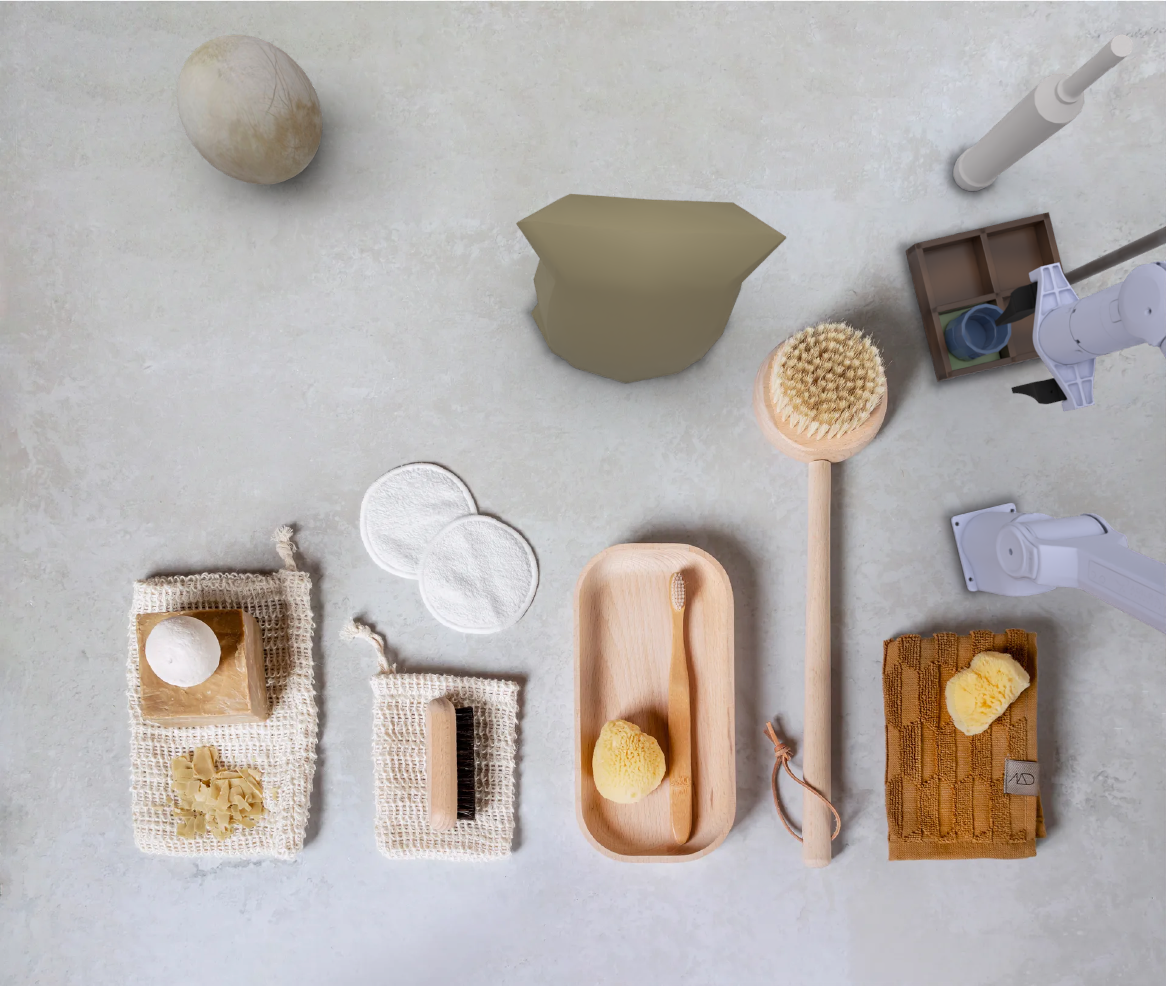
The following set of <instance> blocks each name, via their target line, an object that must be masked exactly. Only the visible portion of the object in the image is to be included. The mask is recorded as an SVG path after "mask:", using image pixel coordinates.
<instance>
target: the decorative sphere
mask: <svg viewBox="0 0 1166 986" xmlns="http://www.w3.org/2000/svg"><path fill="white" fill-rule="evenodd" d="M176 106H177V112H178V113H177V114H178V117H179V120H180V122H181V125H182V127H183V130H184V132H185V135H186V136H187V138H188V139H189V141H190V142H191V144H192V146H193V147H194V149H196V151H197V152H198V153H199V154H200V155H201V157H202V158H203V159H205V161H207V163H209V165H211V166H212V167H214V168H215V169H217V170H218V171H220V172H221V173H223V174H224V175H226V176H228V177H230V178H232V179H234V180H237V181H240V182H244V183H247V184H251V185H253V184H254V185H274V184H279V183H282V182H285V181H288V180H290V179H292V178H294V177H296V176H297V175H299V174H301V172H303V171H304V170H305V169H306V168H307V167H308V166H309V165H310V163H311V162H312V161H313V160H314V158H315V156H316V154H317V152H318V150H319V148H320V147H319V146H320V144H321V141H322V135H323V113H322V107H321V104H320V100H319V96H318V94H317V91H316V89H315V87H314V85H313V83H312V81H311V80H310V78H309V77H308V75H307V74H306V72H305V71H304V69H303V68H302V66H300V65H299V64H298V63H297V62H296V61H295V60H294V59H293V58H292V57H291V56H290V55H289V54H288V53H287V52H286V51H284V50H282V48H279V47H278V46H276V45H274V44H273V43H270V42H268V41H266V40H264V39H263V38H258V37H256V36H251V35H246V34H225V35H220V36H216V37H214V38H212V39H209V40H207V41H205V42H203V43H202V44H200V45H199V46H198V47H196V48H195V49H194V50H193V51H192V52H191V54H189V56H188V57H187V58H186V60H185V61H184V63H183V65H182V68H181V69H180V73H179V76H178V79H177V84H176Z"/></svg>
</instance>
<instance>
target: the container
mask: <svg viewBox="0 0 1166 986" xmlns="http://www.w3.org/2000/svg"><path fill="white" fill-rule="evenodd" d="M515 224H516V225H517V228H518V229H519V230H520V232H521V233H522V236H524V238H525V240H527V242H528V244H529V245H530V246H531V248H532V249H533V251H534V252H535V254H536V256H537V257H538V258H539V260H538V263H537V267H536V270H535V273H534V276H533V284H534V289H535V294H536V299H537V300H536V301H537V303H536V305H535V306H534V308H533V309H532V311H531V312H530V314H531V316H532V318H533V320H534V323H535V324H536V326H537V328H538V330H539V331H540V334H541V335H542V337H543V339H544V340H545V342H546V344H547V346H548V348H549V350H550V352H551V353H553V354H554V355H555V356H558V358H561V359H563V360H565V361H566V362H567V363H568V364H569V365H571V366H572V367H573V368H574V369H577V370H581V371H583V372H588V373H590V374H594V375H597V376H601V377H604V378H607V379H610V380H614V381H616V382H620V383H623V384H629V383H630V384H631V383H636V382H640V381H647V380H651V379H656V378H660V377H661V378H662V377H666V376H671V375H675V374H680V373H681V372H683V371H684V370H685V369H687V368H688V367H690V366H692V365H693V364H695V363H697V362H700V361H702V359H703V358H704V357H705V355H706V354H707V353H708V352H709V351H710V350H711V349H712V347H713V346H714V345H715V344H716V343H717V342H718V340H720V338H721V337H722V336H723V335H724V333H725V330H726V327H727V324H728V322H729V320H730V317H731V314H732V312H733V309H734V307H735V304H736V303H737V299H738V297H739V295H740V292H741V290H742V286H743V285H742V284H743V283H744V281H746V279H747V278H749V277H750V275H752V274H753V273H754V271H756V270H757V269H758V268H759V266H760V265H761V264H763V262H764V261H766V259H767V258H769V256H770V255H772V254H773V253H774V252H775V250H777V248H779V246H780V245H782V243H783V242H784V241H785V240H786V239H787V236H786V235H784V234H783V233H782V232H780V231H778V230H777V229H775V228H774V227H772V226H771V225H769V224H768V223H766V222H765V221H763V220H761V219H760V218H759V217H757V216H755V215H754V214H752V213H751V212H749V211H748V210H746V209H745V208H743V207H742V206H739V204H736V202H731V201H729V202H728V201H706V200H705V201H704V200H677V199H676V200H675V199H651V198H650V199H648V198H634V197H622V196H621V197H620V196H609V195H608V196H607V195H593V194H579V193H569V194H566V195H565V196H562V197H560V198H558V199H556V200H554V201H553V202H551V203H549V204H548V205H545V206H544V207H542V208H540V209H538V210H536V211H535V212H533V213H531V214H529V215H527V216H525V217H524V218H522V219H521V220H518V221H517V222H516V223H515Z"/></svg>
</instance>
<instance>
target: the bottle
mask: <svg viewBox="0 0 1166 986" xmlns="http://www.w3.org/2000/svg"><path fill="white" fill-rule="evenodd" d="M1133 49H1134V42H1133V40H1132V38H1131V37H1129V35H1126V34H1118V35H1115V36H1114V37H1113V38H1112V39H1111V40H1110V41H1108V42H1107V43H1106V44H1105V45H1104V46H1103V47H1101V48H1100V49H1099V50H1098V51H1097V52H1096V53H1095V54H1094V55H1093V56H1092V57H1091V58H1090V59H1089V60H1087V61H1086V62H1085V63H1084V64H1083V65H1082V66H1080V67H1079V68H1078V69H1077V70H1076V71H1074V73H1072V74H1071V75H1068V74H1066V73H1052V74H1050V75H1048V76H1046V77H1044V78H1042V79H1041V80H1040V81H1039V83H1037V85H1036V86H1035V87H1033V88H1032V89H1031V90H1030V91H1029V92H1028V93H1027V94H1026V95H1025V96H1024V97H1023V98H1022V99H1021V100H1020V101H1018V103H1017V104H1016V105H1014V107H1013V108H1011V110H1010V111H1008V112H1007V113H1006V114H1005V115H1004V116H1003V117H1002V118H1001V119H1000V120H999V121H998V122H997V123H996V124H995V125H994V126H993V127H991V129H989V131H987V132H986V134H984V135H983V136H982V137H981V138H980V139H979V140H978V141H977V142H976V143H975V144H974V145H973V146H970V147H968V148H966V149H965V150H964V151H963V152H962V153H961V154H960V156H959V157H957V159H956V161H955V162H954V166H953V170H952V177H953V179H954V181H955V183H956V185H958V187H960V188H961V189H962V190H964V191H968V192H977V191H980V190H983V189H985V188H987V187H988V186H991V185H992V184H993V183H994V182H995V180H996V179H998V177H999V175H1001V174H1002V173H1003V172H1006V170H1008V169H1009V168H1010V167H1012V166H1013V165H1014V164H1016V163H1017V162H1019V161H1020V160H1021V159H1023V158H1025V156H1026V155H1028V154H1030V153H1031V152H1032V151H1033V150H1035V149H1036V148H1038V147H1039V146H1040V145H1041V144H1044V142H1046V141H1047V140H1048V139H1050V138H1051V137H1053V136H1054V135H1055V134H1056V133H1058V132H1059V131H1060V130H1062V129H1063V128H1064V127H1066V126H1067V125H1069V124H1070V123H1072V121H1074V120H1075V119H1076V118H1077V117H1078V116H1079V115H1080V114H1081V113H1082V110H1083V108H1084V106H1085V91H1086V90H1087V89H1088V88H1089V87H1091V86H1092V85H1093V84H1094V83H1095V82H1097V81H1098V80H1099V79H1100V78H1102V77H1103V76H1104V75H1105V74H1107V73H1108V72H1109V71H1110V70H1111V69H1113V68H1115V67H1116V66H1117V65H1118V64H1119V63H1121V62H1122V61H1123V60H1124V59H1126V58H1127V57H1128V56H1129V55H1130V54H1131V53H1132V51H1133Z"/></svg>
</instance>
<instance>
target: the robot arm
mask: <svg viewBox="0 0 1166 986" xmlns="http://www.w3.org/2000/svg"><path fill="white" fill-rule="evenodd" d="M1064 274H1065V273H1064ZM1064 274H1063V272H1062V269H1061V266H1060V263H1054V264H1050V265H1046V266H1042V267H1039V268H1037V269H1035V270H1034V271H1032V272H1030V273H1029V277H1030V281H1031V282H1032V284H1029V285H1026V286H1021V287H1018V288H1016V289H1015V290H1014V291H1012V292H1011V296H1010V301H1009V303H1008V306H1007V307H1006V309H1005V310H1004V312H1003V313H1002V314H1001V315H1000V316H999V317H998V318H997V319H996V320H995V325H996V327H997V326H1001V325H1005V324H1009V323H1013V322H1016V321H1019V320H1022V319H1023V318H1025V317H1027V316H1029V315H1031V314H1033V313H1035V317H1034V327H1033V344H1034V347H1035V350H1036V352H1037V353H1038V355H1039V356H1040V358H1039V359H1041V361H1042V362H1043V364H1044V366H1045V367H1046V368H1047V370H1048V372H1049V373H1050V375H1051V376H1052V377H1051V378H1048V379H1047V378H1046V379H1042V380H1036V381H1033V382H1029V383H1024V384H1020V385H1019V384H1018V385H1016V386H1012V387H1010V388H1011V393H1012V394H1019V395H1025V396H1028V397H1030V398H1032V399H1033V400H1035V401H1036V402H1037V404H1040V405H1050V404H1051V405H1052V404H1055V403H1058V402H1061V408H1062V411H1063V412H1069V411H1073V410H1078V409H1083V408H1088V407H1091V406H1095V405H1096V403H1095V396H1094V385H1095V384H1094V382H1095V374H1096V373H1095V372H1096V362H1097V358H1099V357H1103V356H1106V355H1109V354H1112V353H1116V352H1120V351H1123V350H1127V349H1130V348H1134V347H1136V346H1140V345H1144V344H1147V345H1148V346H1151V347H1152V348H1155V347H1157V348H1159V350H1160V351H1161V353H1162V355H1163V357H1164V359H1166V260H1158V261H1152V262H1148V263H1143V264H1140V265H1138V266H1136V267H1135V268H1133V269H1132V270H1131V271H1130V272H1129V273H1128V274H1127V276H1126V277H1125V278H1124V280H1123V281H1120V282H1118V283H1115V284H1113V285H1111V286H1108V287H1106V288H1103V289H1101V290H1098V291H1095V292H1094V293H1091V294H1089V295H1087V296H1084V297H1082V298H1080V297H1079V295H1078V294H1077V293H1076V291H1075V290H1074V288H1073V287H1072V285H1071V286H1070V284H1069V283H1068V281H1067V279H1066V278H1065V276H1064ZM1011 510H1012V512H1011ZM950 523H951V526H952V531H953V536H954V539H955V544H956V548H957V551H958V555H959V560H960V564H961V569H962V572H963V577H964V580H965V584H966V588H967V590H968V591H970V592H977V591H980V592H984V593H989V594H995V595H999V596H1003V597H1028V596H1029V597H1030V596H1035V595H1041V594H1045V593H1048V592H1051V591H1054V590H1056V589H1057V588H1070V589H1078V590H1082V591H1083V592H1085V593H1087V594H1089V595H1091V596H1093V597H1095V598H1097V599H1098V600H1099V601H1102V602H1104V603H1106V604H1108V605H1110V606H1112V607H1113V608H1115V609H1117V610H1119V611H1121V612H1123V613H1125V614H1127V615H1129V617H1132V618H1134V619H1136V620H1138V621H1140V622H1142V623H1143V624H1145V625H1147V626H1149V627H1151V628H1153V629H1155V630H1156V631H1158V632H1161V634H1162V633H1163V634H1164V635H1166V563H1164V562H1162V561H1160V560H1157V559H1155V558H1152V557H1150V556H1147V555H1146V554H1143V553H1140V552H1138V551H1135V550H1133V549H1131V548H1129V542H1128V537H1127V535H1126V534H1125V533H1123V532H1120V531H1118V530H1116V529H1114V527H1112V526H1111V525H1110V523H1109V522H1108V521H1107V520H1106V519H1105V518H1104V517H1102V516H1101V515H1099V514H1096V513H1093V512H1087V513H1085V512H1084V513H1081V514H1080V515H1074V516H1073V515H1072V516H1065V517H1056V518H1055V517H1054V516H1051V515H1049V514H1046V513H1041V512H1018V511H1017V507H1016V504H1015V503H1014V502H1007V503H1003V504H998V505H994V506H989V507H986V508H983V509H978V510H973V511H969V512H965V513H961V514H957V515H953V516H952V517H951V518H950ZM956 523H957V525H956Z"/></svg>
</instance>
